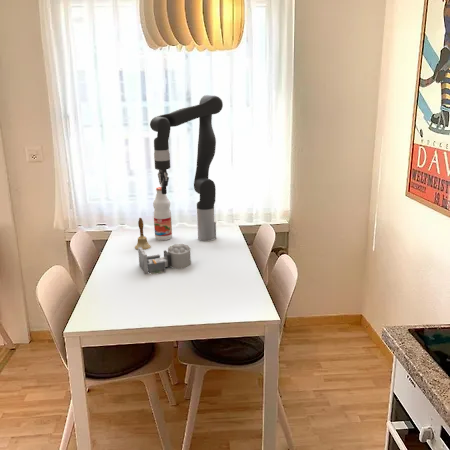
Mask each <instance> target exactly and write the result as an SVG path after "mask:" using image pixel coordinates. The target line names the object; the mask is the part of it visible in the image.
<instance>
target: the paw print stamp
mask: <svg viewBox="0 0 450 450" xmlns="http://www.w3.org/2000/svg"><path fill="white" fill-rule="evenodd" d="M167 252H168V253H169V254H170V267H169V268H172V269H177V270H180V269H181V270H182V269H186V268H189V266H191V265H192V261H191V260H192V259H191V258H192V257H191V248H190V246H189V245H188V244H185V243H175V244H174V243H173V244H172V245H171V246H168V248H167Z"/></svg>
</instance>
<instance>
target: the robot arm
mask: <svg viewBox="0 0 450 450" xmlns="http://www.w3.org/2000/svg"><path fill="white" fill-rule="evenodd" d="M198 103H199V104H195V105H191V106H186V107H182V108H180V109H176V110H175V111H171V112H169V113H166V114H165V113H164V114H160V115H156V116H154V117H152V119H151V120H150V122H149V126H150V128H151V130H152V131H154V132H157V136H156V137H155V138H154V139H153V147H154V153H153V156H154V158H153V159H154V170H157V171H158V173H157V177H158V183H159V185H160V187H161V191H162V194H166V195H167V194H168V193H167V188H168V185H169V181H170V177H169V174H168V171H167V170H170V169H171V155H170V146H169V144H170V143H169V140H170V135H171V127H173V128H174V127H179V126H180V125H183V124H185V123H188V122H190V121H194V120H196V119H198V120H199V122H198V123H199V124H198V125H199V126H198V139H197V140H198V141H197V153H196V154H197V157H196V169H195V175H194V180H193V189H194V191H195V192H196V194H199V201H197V203H196V220H197V221H196V222H197V240H198V241H204V242H205V241H206V242H210V241H213V240H215V239H217V222H216V221H215V203H216V194H217V193H216V192H217V191H216V184H215V182H214V180H212V179H210V178H209V176H210V175H209V174H210V173H209V171H210V167H211V164H212V161H213V160H214V157H215V154H216V147H217V146H216V145H217V138H216V135H215V131H214V128H213V123H212V120H213V117H212V116H213V115H216V114H219V113H220V112H221V111H222V109H223V107H224V106H223V105H224V104H223V103H224V102H223V100H222V99H221V97H220V96H217V95H208V94H207V95H206V94H205V95H203V96H201V98H200V100H199V102H198Z"/></svg>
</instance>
